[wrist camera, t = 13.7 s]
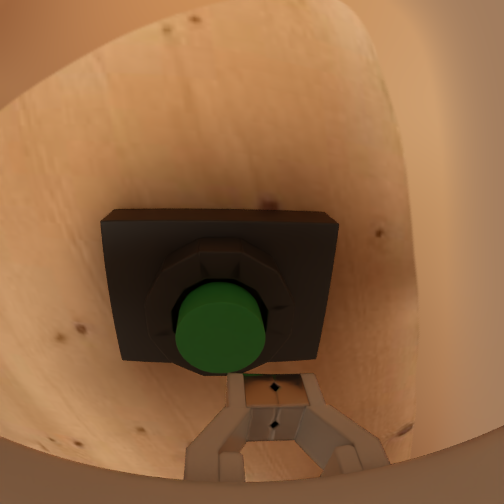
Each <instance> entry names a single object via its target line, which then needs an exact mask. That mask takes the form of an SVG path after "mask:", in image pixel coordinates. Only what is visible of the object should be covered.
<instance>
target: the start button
mask: <svg viewBox="0 0 504 504" xmlns="http://www.w3.org/2000/svg"><path fill="white" fill-rule="evenodd" d="M175 337H176V345H177V348H178V350H179V352H180V354H181V355H182V357H183V358H184V359H185V360H186V361H187V362H188V363H190V364H191V365H192V366H194V367H196V368H198V369H200V370H203V371H206V372H211V373H230V372H234V371H238V370H240V369H243V368H245V367H247V366H248V365H250V364H251V363H252V362H254V361H255V360H256V359H257V358H258V356H259V355H260V353H261V352H262V350H263V347H264V344H265V329H264V325H263V321H262V317H261V313H260V309H259V306H258V304H257V302H256V300H255V298H254V297H253V296H252V295H251V294H250V293H249V292H248V291H247V290H245V289H244V288H242V287H240V286H238V285H236V284H232V283H228V282H211V283H207V284H204V285H201V286H199V287H197V288H195V289H194V290H192V291H191V292H190V293H189V294H188V295H187V296H186V297H185V299H184V300H183V302H182V304H181V307H180V310H179V316H178V322H177V329H176V335H175Z"/></svg>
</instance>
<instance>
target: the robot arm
mask: <svg viewBox="0 0 504 504" xmlns="http://www.w3.org/2000/svg"><path fill="white" fill-rule="evenodd" d="M281 440H295V442H296V443H297V444H298V445H299V446H300V447H301V448H302V449H303V450H304V451H305V452H306V453H307V454H308V455H309V456H310V457H311V458H312V459H313V460H314V461H315V462H316V463H317V464H318V465H319V466H320V467H321V468H322V469H323V472H322V474H321V476H320V477H318V478H309V479H299V480H286V481H269V482H245V472H244V461H243V455H242V454H240V451H241V450H242V448H243V447H244V445H245V444H246V442H248V441H281ZM0 504H504V426H501V427H499V428H497V429H495V430H492V431H490V432H488V433H485V434H483V435H481V436H478V437H476V438H473V439H471V440H468V441H466V442H463V443H460V444H457V445H455V446H452V447H449V448H446V449H443V450H440V451H437V452H434V453H431V454H427V455H424V456H421V457H417V458H414V459H410V460H406V461H402V462H398V463H394V464H390V462H389V460H388V458H387V456H386V453H385V451H384V449H383V447H382V444H381V442H380V440H379V439H378V438H377V437H375V436H374V435H372V434H371V433H370V432H368V431H367V430H365V429H364V428H362V427H361V426H359V425H358V424H356V423H355V422H354V421H352V420H351V419H349V418H348V417H346V416H345V415H344V414H342V413H341V412H339V411H338V410H337V409H335V408H334V407H333V406H331V405H326V403H325V400H324V398H323V395H322V392H321V389H320V387H319V384H318V381H317V378H316V376H315V374H314V373H305V374H246V373H243V374H240V373H228V374H227V383H226V396H225V407H224V408H223V409H222V410H221V411H220V412H219V413H218V414H217V416H216V417H215V418H214V419H213V420H212V421H211V422H210V423H209V424H208V426H207V427H206V428H205V429H204V430H203V431H202V432H201V433H200V434H199V435H198V436H197V437H196V438H195V440H194V441H193V442H192V443H191V444H190V445H189V446H188V447H187V448H186V456H185V470H184V480H179V479H169V478H160V477H152V476H145V475H138V474H132V473H126V472H120V471H115V470H110V469H105V468H100V467H96V466H92V465H87V464H83V463H79V462H75V461H72V460H68V459H64V458H61V457H58V456H54V455H51V454H48V453H45V452H42V451H39V450H36V449H33V448H30V447H27V446H24V445H21V444H19V443H16V442H14V441H11V440H8V439H6V438H4V437H1V436H0Z"/></svg>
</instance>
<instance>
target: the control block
mask: <svg viewBox="0 0 504 504" xmlns="http://www.w3.org/2000/svg"><path fill="white" fill-rule="evenodd" d="M100 223H101V234H102V244H103V252H104V261H105V268H106V276H107V283H108V289H109V295H110V301H111V307H112V313H113V318H114V324H115V329H116V334H117V339H118V343H119V348H120V352H121V357H122V360H127V361H143V362H164V363H174V364H176V365H179V366H181V367H183V368H186V369H188V370H190V371H193V372H195V373H198V374H200V375H203V376H227V374H228V373H211V372H206V371H203V370H200V369H198V368H196V367H194V366H192V365H191V364H190V363H188V362H187V361H186V360H185V359H184V358H183V357H182V355H181V354H180V352H179V350H178V348H177V345H176V337H175V335H176V329H177V322H178V316H179V310H180V307H181V304H182V302H183V300H184V299H185V297H186V296H187V295H188V294H189V293H190V292H191V291H192V290H194V289H195V288H197V287H199V286H201V285H204V284H207V283H211V282H228V283H232V284H236V285H238V286H240V287H242V288H244V289H245V290H247V291H248V292H249V293H250V294H251V295H252V296H253V297H254V298H255V300H256V302H257V304H258V306H259V309H260V313H261V317H262V321H263V325H264V329H265V344H264V347H263V350H262V352H261V353H260V355H259V356H258V358H257V359H256V360H255V361H254V362H252V363H251V364H250V365H248V366H247V367H245V368H243V369H240V370H238V371H234V372H230V373H240V374H242V373H244V372H246V371H249V370H251V369H253V368H256V367H258V366H260V365H262V364H264V363H267V362H281V361H298V360H311V359H316V357H317V352H318V347H319V342H320V337H321V332H322V327H323V322H324V317H325V311H326V306H327V300H328V294H329V288H330V282H331V276H332V270H333V264H334V257H335V250H336V243H337V236H338V229H339V223H337V222H336V221H335V220H334V219H332V218H331V217H330V216H329V215H327V214H326V213H325V212H308V211H280V210H242V209H115V210H113V211H112V212H111V213H109V214H108V215H107V216H106V217H105V218H103V219H102V220H101V222H100Z"/></svg>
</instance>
